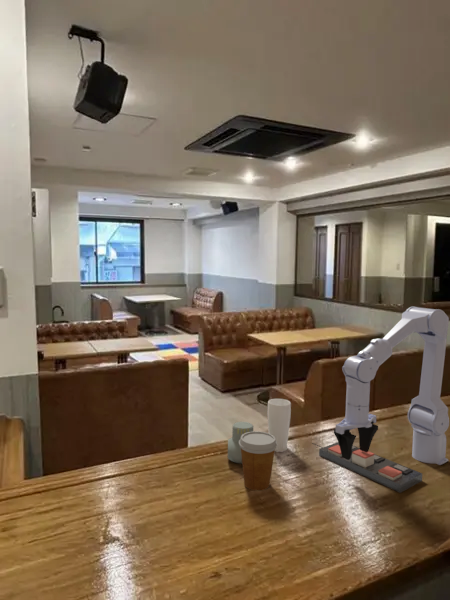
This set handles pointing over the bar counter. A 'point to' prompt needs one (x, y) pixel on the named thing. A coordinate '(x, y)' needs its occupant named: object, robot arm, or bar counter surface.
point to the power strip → (376, 469)
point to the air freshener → (237, 440)
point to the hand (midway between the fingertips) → (355, 454)
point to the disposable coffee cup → (257, 458)
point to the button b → (363, 458)
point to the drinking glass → (279, 422)
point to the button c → (390, 473)
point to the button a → (335, 450)
